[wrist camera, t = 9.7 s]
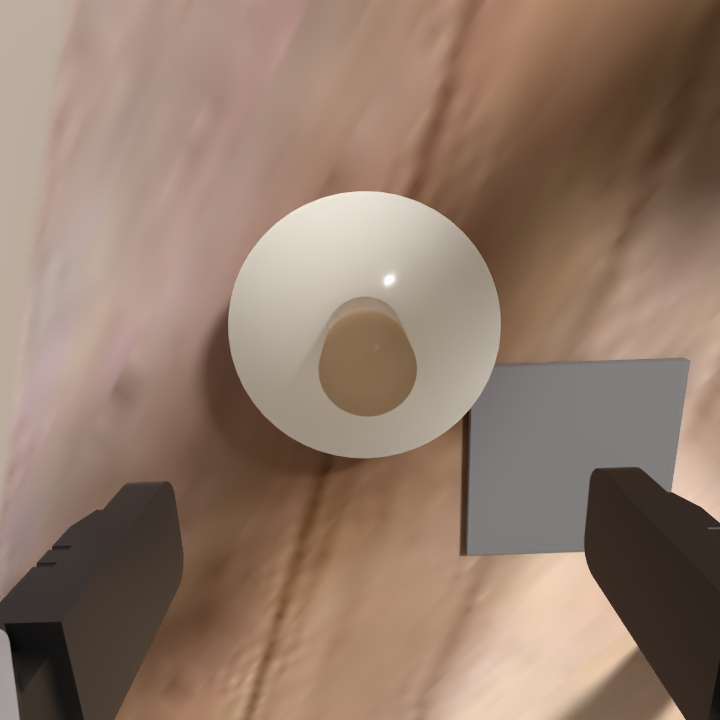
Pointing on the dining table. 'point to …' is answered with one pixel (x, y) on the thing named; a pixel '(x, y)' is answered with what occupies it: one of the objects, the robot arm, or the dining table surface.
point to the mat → (564, 445)
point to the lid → (364, 324)
